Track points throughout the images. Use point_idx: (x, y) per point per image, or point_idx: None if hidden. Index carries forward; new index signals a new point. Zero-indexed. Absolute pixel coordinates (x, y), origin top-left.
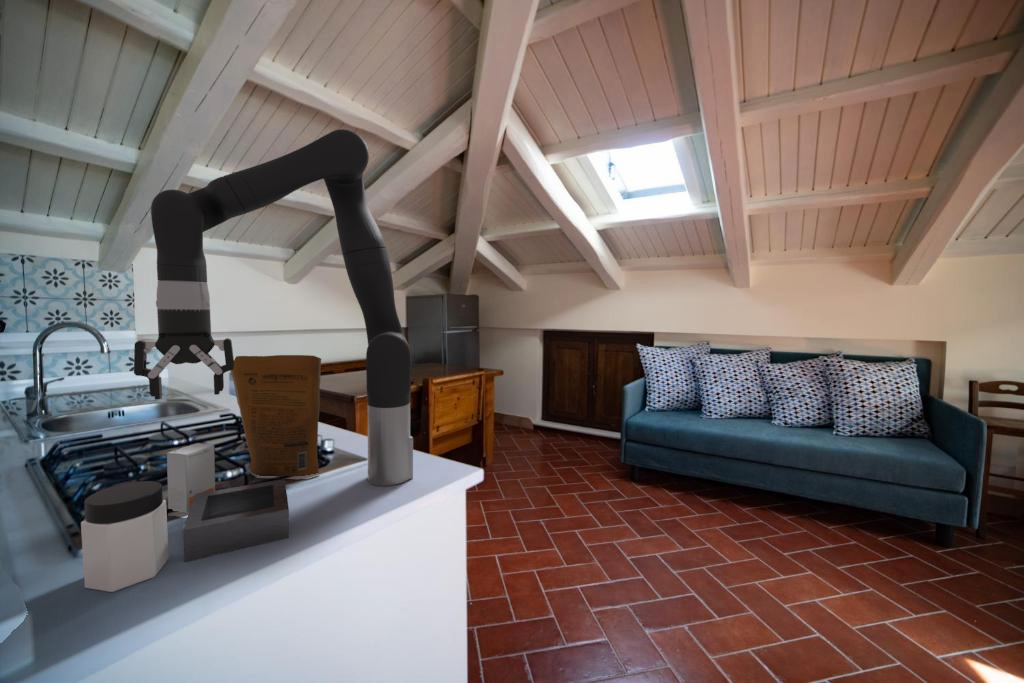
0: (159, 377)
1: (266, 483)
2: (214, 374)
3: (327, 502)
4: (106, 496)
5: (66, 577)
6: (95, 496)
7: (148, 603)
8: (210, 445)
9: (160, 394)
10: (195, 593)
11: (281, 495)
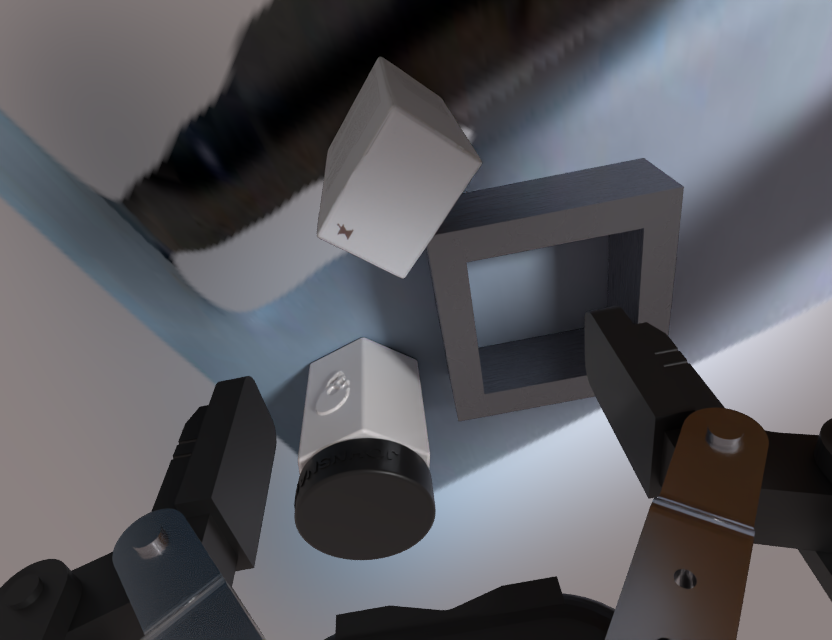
0: (213, 516)
1: (625, 211)
2: (655, 454)
3: (753, 184)
4: (337, 531)
5: (258, 371)
6: (312, 527)
7: (432, 457)
8: (468, 172)
9: (264, 435)
10: (491, 451)
11: (657, 311)
